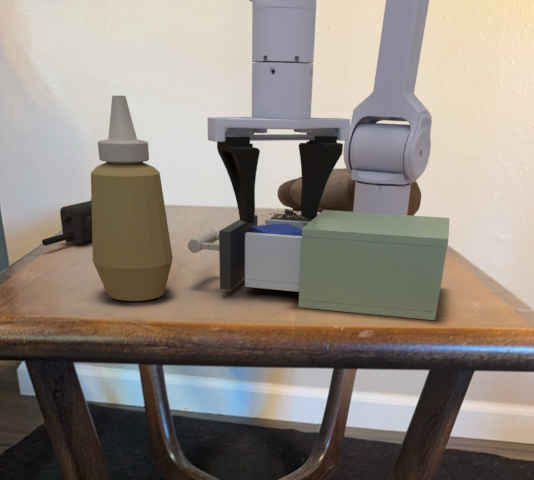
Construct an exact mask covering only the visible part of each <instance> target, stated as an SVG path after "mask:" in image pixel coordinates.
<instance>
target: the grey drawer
mask: <svg viewBox="0 0 534 480" xmlns="http://www.w3.org/2000/svg"><path fill="white" fill-rule="evenodd" d="M258 219H259V218H258V215H257V214H255V216H254V223H246V222H243V221H241V220H240V218H239V219H238V220H236V221H234V222H233V223H232V222H231V223H230V224H229V225H227V226H225V227H224V228H222V229H220V230H218V232H217V230H216V229H213V228H211V229H208V230H206V231H204V232H202V233H200V234H199V235H197V236H195V237H194V238H191V239H190V240H189V241H188V243H187V248H188V250H189V251H190V252H191V253H193V254H197V253H199V252H200V251H203V250H205V251H218V252H219V257H218V259H219V290H221V291H222V290H223V291H224V290H225V291H232V290H233V289H234V288H235V287H236V286H238V285H239V284H240V283H241V282H242V281H243V280H244V287H245V288H253V289H263V290H276V291H285V292H286V291H287V292H297V293H299V284H300V263H301V242H302V236H293V235H279V234H266V233H252V232H251V226H257V225H258ZM308 223H309V222H306V221H291V220H276V219H270V218H267V219H265V225H273V224H289V225H292V226H295V227H297V228H300V229H302V228H303V227H304V226H306V225H307V224H308ZM217 241H218V243H217Z"/></svg>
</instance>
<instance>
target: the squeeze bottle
mask: <svg viewBox="0 0 534 480" xmlns="http://www.w3.org/2000/svg"><path fill="white" fill-rule="evenodd" d="M110 105H111V106H110V116H109V127H108V135H107V136H108V138H107V139H103V140H98V142H97V149H98V150H97V151H98V160H99V161H101V162H104V163H101V164H99V165H97V166H96V167H94V169H93V170H92V171H91V172H90V196H91V197H90V198H91V202H92V240H91V241H92V246H91V247H92V263H93V265H94V267H95V269H96V272H97V274H98V277H99V278H100V280H101V283H102V285H103V287H104V289H105V292H106V294H107V296H109V297H110V298H111V299H115V300H118V301H126V302H141V301H149V300H153V299H156V298H157V299H158V298H160V297H162V296H164V295H165V291H166V288H167V284H168V280H169V275H170V273H171V269H172V268H171V267H172V264H173V260H174V259H173V251H172V244H171V237H170V232H169V225H168V217H167V213H166V212H167V211H166V205H165V199H164V192H163V191H164V190H163V185H162V179H161V172H160V171H159V170H158V169H157V168H156V167H155V166H153V165H151V164H147V163H145V162H148V161H150V152H149V142H148V141H146V140H142V139H138V137H137V134H136V130H135V126H134V123H133V119H132V118H133V117H132V114H131V112H130V108H129V104H128V100H127V96H126V95H111V104H110Z"/></svg>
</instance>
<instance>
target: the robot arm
mask: <svg viewBox="0 0 534 480" xmlns="http://www.w3.org/2000/svg"><path fill="white" fill-rule="evenodd" d="M249 1H250V2H251V3H252V4H251V5H252V11H251V12H252V14H251V15H252V16H251V17H252V18H251V22H252V23H251V24H252V25H251V30H252V31H251V62H252V63H251V116H232V117H231V116H226V117H225V116H219V117H218V116H215V117H213V116H208V117H207V119H206V120H207V121H206V122H207V140H208V141H209V142H214V143H216V148H217V152H218V155H219V157H220V159H221V161H222V163H223V165H224V167H225V169H226V172H227V175H228V178H229V180H230V183H231V186H232V191H233V193H234V196H235V200H236V206H237V210H238V215H239V219H240V220H241V221H243V222H246V223H254V216H255V215H256V200H255V199H256V197H255V196H256V190H255V189H256V180H257V179H256V178H257V170H258V164H259V159H260V153H261V150H260V149H259V148H258V147H254V144H253V143H251V142H253V141H254V142H255V141H256V142H259V141H261V142H262V141H265V142H266V141H267V142H268V141H269V142H270V141H274V142H275V141H306V142H299V144H298V151H299V160H300V168H301V169H300V170H301V177H302V190H301V212H300V215H301V216H303V217H305V218H308V219H314V218H315V217H316V216H317V215H318V212H317V211H318V208H319V204H320V201H321V197H322V194H323V191H324V189H325V186H326V183H327V181H328V179H329V177H330V174H331V172H332V170H333V169H335V167H336V165H337V163H338V162H339V159H340V158H341V156H342V154H343V162H344V165H345V168H347V170H348V172H349V173H350V174H351V180H356V183H355V195H354V206H353V212H364V213H379V214H395V215H407V211H408V204H409V196H410V188H411V183H413V182H417V181H418V179H419V178H420V177H421V176H422V175H423V174H424V172H425V170H426V168H427V166H428V163H429V159H430V155H431V149H432V148H431V147H432V141H431V140H432V139H431V133H432V132H431V130H432V122H433V119H432V118H433V116H432V115H431V112H430V111H429V109H428V108H427V107H426V106H425V105H424V104H423V102H421V100H420V99H419V98H418V97H417V96H416V94H415V90H416V89H415V88H416V83H417V79H418V70H419V65H420V59H421V53H422V46H423V42H424V35H425V29H426V23H427V17H428V11H429V4H430V0H385V5H384V10H383V11H384V13H383V20H382V27H381V33H380V39H379V40H380V41H379V47H378V55H377V62H376V69H375V75H374V84H373V89H372V90H373V91H372V92H371V93H370V94H369V95H368V96H367V97H366V98H365V99H364V100H362V101H361V102H359V104H357V105H356V107H354V109H353V111H352V115H351V119H350V118H342V117H312V101H313V100H312V99H313V79H314V78H313V77H314V60H315V40H316V39H315V38H316V19H317V18H316V17H317V0H249ZM382 121H387V122H407V123H408V124H404V123H385V122H384V123H383V122H382ZM380 122H381V123H380ZM268 130H293V132H294V133H293V134H292V133H291V134H287V133H286V134H282V133H281V134H279V133H278V134H272V133H271V134H270V133H269V134H267V133H268ZM295 133H297V134H295ZM299 133H301V134H299ZM338 141H339V142H338ZM340 141H343V142H344V143H342V142H340Z"/></svg>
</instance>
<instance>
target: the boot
mask: <svg viewBox="0 0 534 480" xmlns="http://www.w3.org/2000/svg"><path fill="white" fill-rule="evenodd" d="M355 183H356V180H351V174H350V173H349V172H348V170H347V168H346V167H345V168H344V167H343V168H333V170H332V172H331V174H330V177H329V179H328V181H327V183H326V186H325V189H324V191H323V194H322V197H321V201H320V204H319V208H318V211H317V213H321V212H322V211H323V210H332V211H348V212H353V206H354V195H355ZM301 190H302V176H299V177H297V178H293V179H289V180H287V181H285V182H283V183H282V184H280V185H279V186H278V188H277V198H278V201H279V202H280V204H282V205H283V206H284V207H287V208H290V209H292V211H293V212H294V213H299V212H300V213H301ZM421 202H422V191H421V188H420V186H419V183H418V182H417V181H416V182H413V183H411V188H410V196H409V204H408V211H407V215H411V216H416V214H417V212H418V211H419V210H420V208H421Z"/></svg>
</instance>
